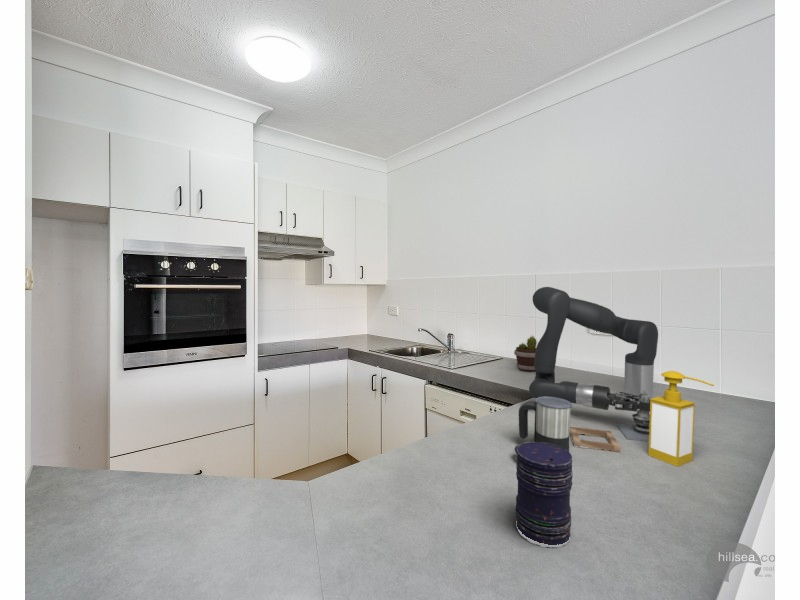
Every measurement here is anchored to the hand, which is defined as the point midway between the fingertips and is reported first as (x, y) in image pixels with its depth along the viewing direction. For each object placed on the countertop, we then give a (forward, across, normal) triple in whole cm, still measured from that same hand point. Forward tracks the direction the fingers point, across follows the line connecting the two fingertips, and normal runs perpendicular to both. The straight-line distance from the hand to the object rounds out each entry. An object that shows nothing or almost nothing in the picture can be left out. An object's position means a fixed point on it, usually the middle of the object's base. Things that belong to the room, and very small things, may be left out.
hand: (654, 406), depth 116 cm
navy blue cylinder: (-16, -66, +10) cm, 69 cm away
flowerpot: (-58, +68, +10) cm, 90 cm away
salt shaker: (-3, 0, +8) cm, 8 cm away
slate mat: (-3, 0, +9) cm, 10 cm away
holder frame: (-15, -15, +10) cm, 23 cm away
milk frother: (-24, -36, +10) cm, 44 cm away
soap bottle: (+7, -16, +10) cm, 20 cm away
